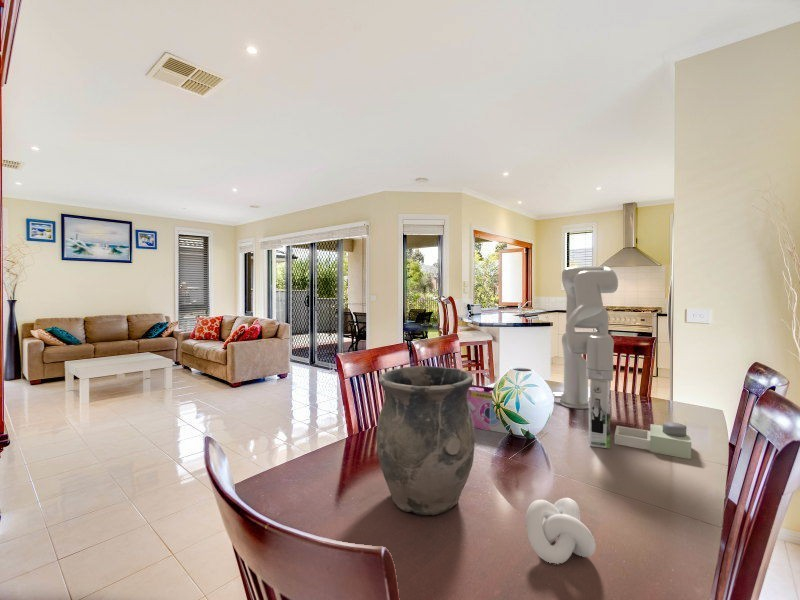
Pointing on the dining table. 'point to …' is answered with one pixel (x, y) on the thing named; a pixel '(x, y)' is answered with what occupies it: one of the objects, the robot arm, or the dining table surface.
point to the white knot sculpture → (558, 530)
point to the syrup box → (599, 438)
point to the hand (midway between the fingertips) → (599, 427)
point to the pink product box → (483, 409)
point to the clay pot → (425, 437)
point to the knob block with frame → (657, 439)
